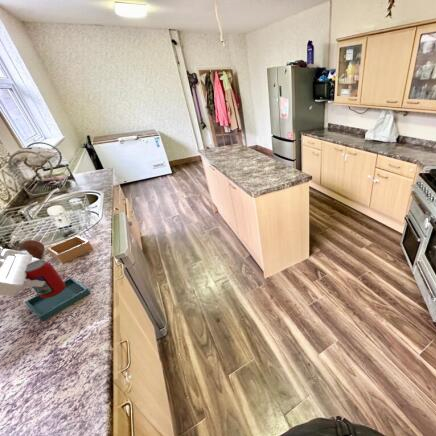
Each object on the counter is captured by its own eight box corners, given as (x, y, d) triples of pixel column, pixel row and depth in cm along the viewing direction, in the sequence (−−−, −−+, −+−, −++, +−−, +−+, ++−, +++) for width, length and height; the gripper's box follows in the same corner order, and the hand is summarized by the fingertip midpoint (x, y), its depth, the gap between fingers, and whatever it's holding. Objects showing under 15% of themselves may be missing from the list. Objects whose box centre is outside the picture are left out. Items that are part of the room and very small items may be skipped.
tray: (42, 321, 74) (39, 317, 73) (27, 306, 80) (24, 301, 79) (90, 293, 84) (87, 288, 83) (74, 281, 90) (71, 276, 89)
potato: (25, 265, 100) (13, 250, 96) (24, 254, 107) (13, 240, 103) (49, 257, 105) (38, 242, 101) (47, 247, 112) (37, 233, 108)
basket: (62, 263, 100) (57, 255, 98) (52, 256, 105) (46, 248, 103) (93, 249, 108) (88, 241, 106) (82, 242, 114) (77, 235, 111)
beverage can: (36, 298, 78) (13, 271, 72) (57, 283, 84) (38, 257, 78) (50, 301, 77) (28, 274, 71) (72, 286, 82) (53, 259, 76)
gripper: (-25, 276, 60) (47, 285, 70) (-4, 243, 74) (53, 254, 84) (-38, 297, 60) (35, 304, 70) (-15, 260, 74) (44, 269, 84)
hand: (45, 276), depth 77 cm, fingers closed on beverage can, 7 cm apart
